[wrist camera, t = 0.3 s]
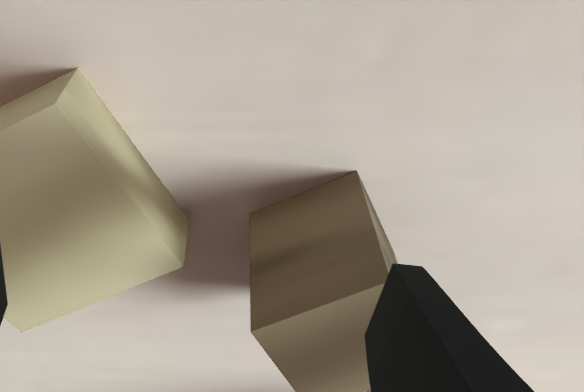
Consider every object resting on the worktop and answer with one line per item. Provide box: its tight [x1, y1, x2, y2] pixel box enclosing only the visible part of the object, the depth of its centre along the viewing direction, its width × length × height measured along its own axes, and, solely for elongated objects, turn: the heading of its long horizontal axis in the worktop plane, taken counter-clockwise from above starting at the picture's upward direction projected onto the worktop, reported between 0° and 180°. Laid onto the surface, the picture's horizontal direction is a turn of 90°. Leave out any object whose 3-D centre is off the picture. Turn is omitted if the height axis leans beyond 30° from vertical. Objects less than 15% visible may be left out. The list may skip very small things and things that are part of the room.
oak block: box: [0, 68, 190, 332], centre depth 19 cm, size 7×7×3 cm
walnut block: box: [250, 171, 398, 392], centre depth 20 cm, size 4×4×6 cm
